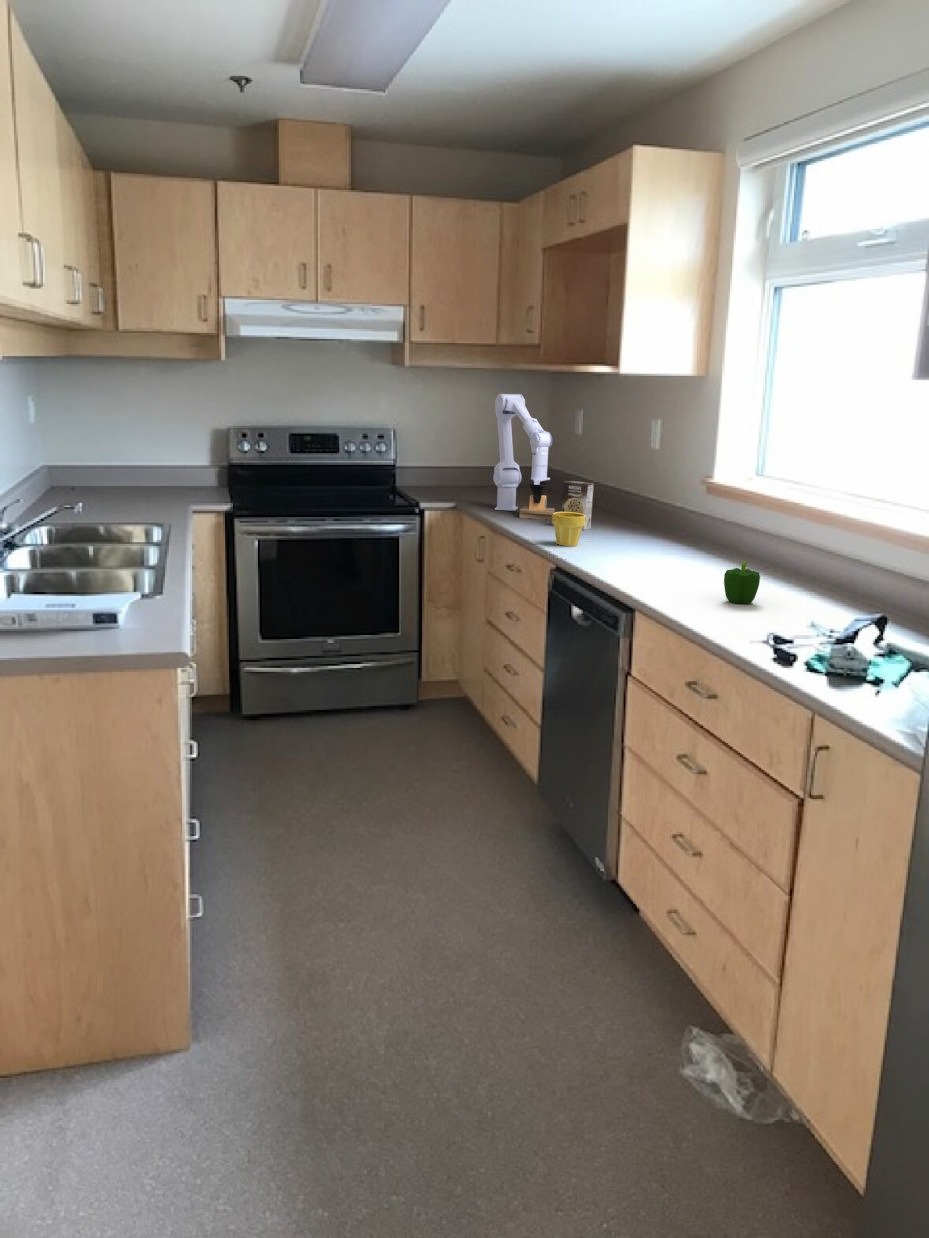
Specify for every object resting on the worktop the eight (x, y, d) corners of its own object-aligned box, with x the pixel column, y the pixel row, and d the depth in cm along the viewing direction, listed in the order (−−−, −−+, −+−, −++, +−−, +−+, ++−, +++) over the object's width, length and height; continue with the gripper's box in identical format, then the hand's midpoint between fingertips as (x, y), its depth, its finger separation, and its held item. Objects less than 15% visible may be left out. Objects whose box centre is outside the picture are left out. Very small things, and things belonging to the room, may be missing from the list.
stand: (522, 514, 379) (523, 506, 378) (554, 516, 377) (554, 508, 376) (519, 518, 369) (519, 510, 369) (551, 520, 367) (552, 511, 367)
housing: (529, 509, 371) (529, 496, 370) (530, 508, 375) (531, 494, 374) (545, 510, 370) (545, 497, 369) (546, 509, 374) (547, 495, 373)
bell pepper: (747, 607, 239) (752, 566, 237) (716, 601, 245) (720, 561, 242) (763, 602, 245) (767, 562, 243) (732, 596, 251) (736, 557, 248)
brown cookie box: (560, 527, 351) (562, 481, 347) (567, 525, 356) (569, 480, 352) (584, 530, 347) (587, 483, 343) (591, 528, 352) (594, 482, 348)
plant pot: (587, 547, 313) (589, 516, 311) (555, 547, 311) (557, 516, 309) (578, 541, 323) (580, 511, 320) (547, 541, 321) (549, 511, 319)
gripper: (548, 467, 361) (546, 505, 364) (552, 464, 375) (550, 500, 378) (529, 466, 362) (527, 504, 365) (533, 463, 376) (531, 499, 379)
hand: (537, 502), depth 372 cm, fingers open, 5 cm apart
